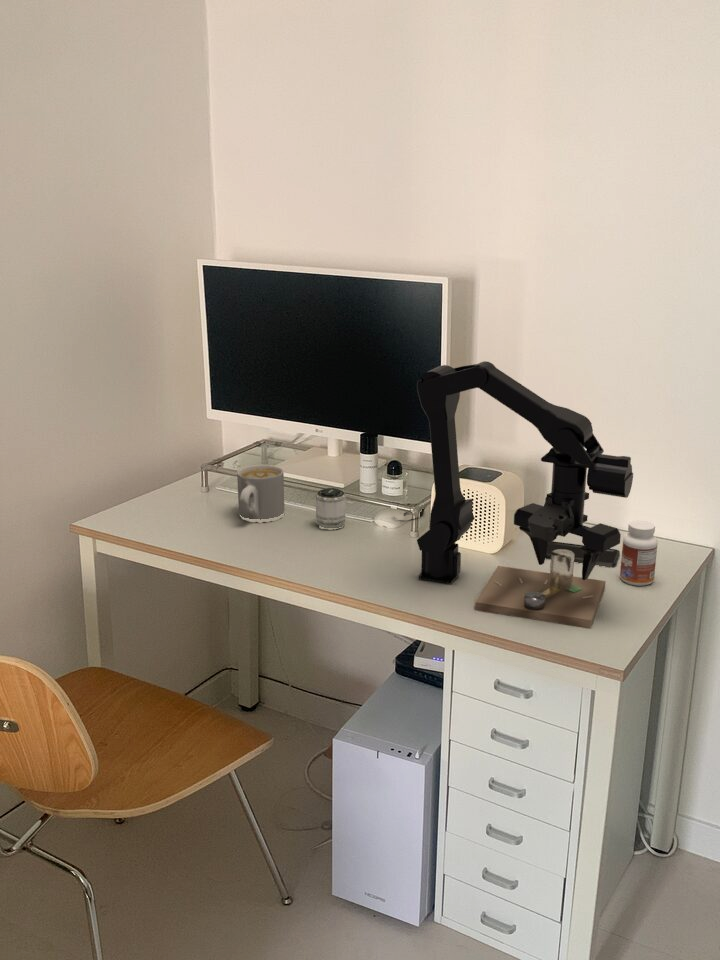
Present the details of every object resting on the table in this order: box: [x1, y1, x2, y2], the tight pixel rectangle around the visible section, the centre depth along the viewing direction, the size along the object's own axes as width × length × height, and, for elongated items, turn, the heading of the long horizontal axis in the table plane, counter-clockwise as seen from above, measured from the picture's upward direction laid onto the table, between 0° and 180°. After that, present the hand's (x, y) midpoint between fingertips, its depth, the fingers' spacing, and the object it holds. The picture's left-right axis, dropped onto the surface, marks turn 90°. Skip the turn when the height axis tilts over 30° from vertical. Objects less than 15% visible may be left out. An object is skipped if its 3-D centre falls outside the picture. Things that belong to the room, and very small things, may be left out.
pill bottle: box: [619, 519, 659, 587], centre depth 188 cm, size 6×6×11 cm
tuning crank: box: [524, 549, 575, 609], centre depth 178 cm, size 13×4×7 cm, turn 136°
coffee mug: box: [236, 464, 285, 520], centre depth 220 cm, size 13×10×10 cm
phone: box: [545, 540, 621, 568], centre depth 201 cm, size 8×1×15 cm
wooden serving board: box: [474, 565, 606, 629], centre depth 182 cm, size 20×17×2 cm
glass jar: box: [315, 487, 347, 528], centre depth 216 cm, size 6×6×8 cm
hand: (562, 571), depth 180 cm, fingers open, 9 cm apart
